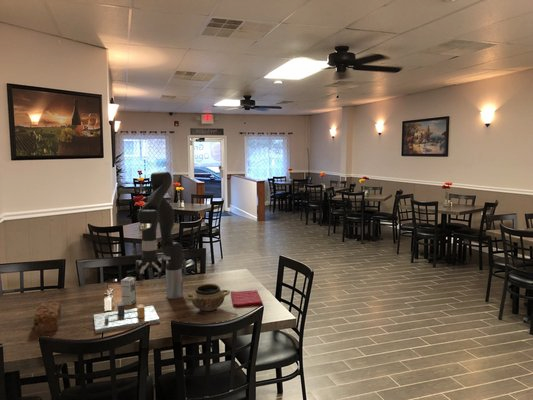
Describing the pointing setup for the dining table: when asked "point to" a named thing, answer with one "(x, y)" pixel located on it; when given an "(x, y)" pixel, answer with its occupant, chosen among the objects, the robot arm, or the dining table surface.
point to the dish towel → (246, 298)
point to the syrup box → (128, 291)
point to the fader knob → (140, 311)
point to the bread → (47, 316)
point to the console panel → (123, 318)
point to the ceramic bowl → (207, 297)
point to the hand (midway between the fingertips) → (150, 279)
